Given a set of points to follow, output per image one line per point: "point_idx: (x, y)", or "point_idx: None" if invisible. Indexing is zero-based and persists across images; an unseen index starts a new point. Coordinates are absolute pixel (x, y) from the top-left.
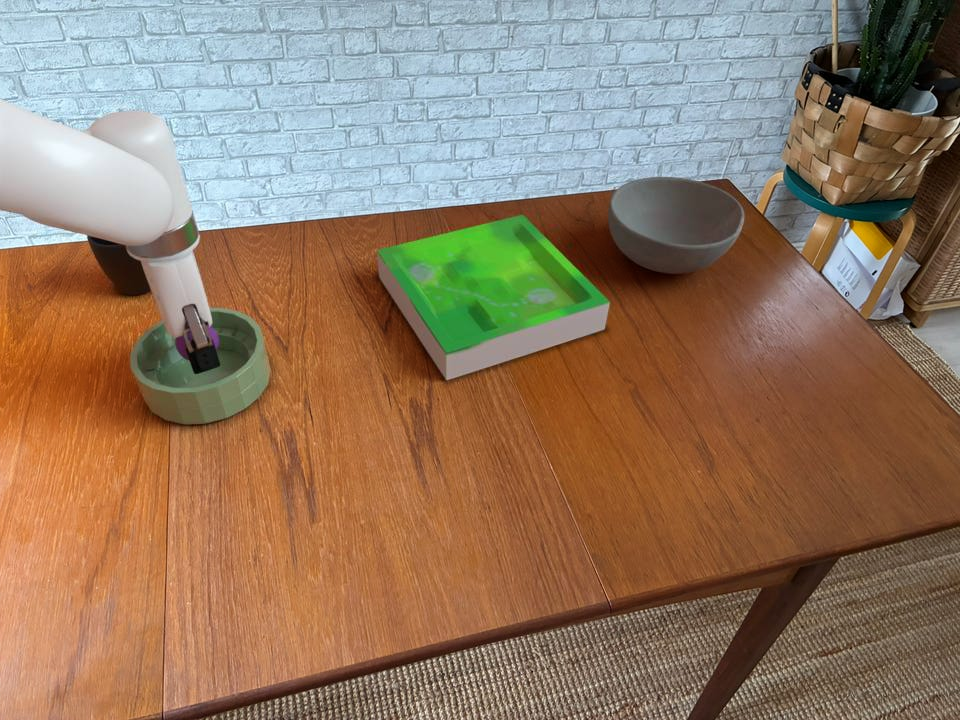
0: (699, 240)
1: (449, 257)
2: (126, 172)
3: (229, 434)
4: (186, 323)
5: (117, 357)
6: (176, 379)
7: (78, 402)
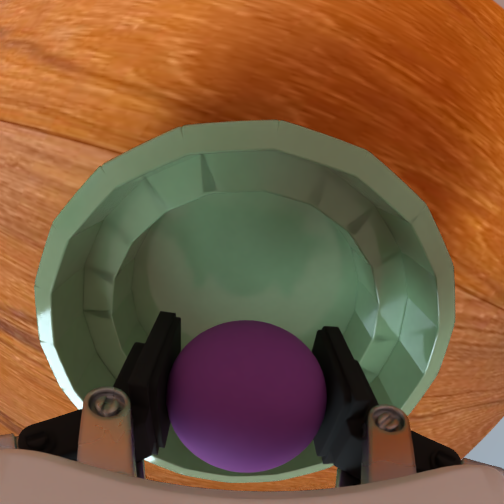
0: None
1: None
2: None
3: None
4: (330, 421)
5: (458, 152)
6: (293, 235)
7: (366, 18)
